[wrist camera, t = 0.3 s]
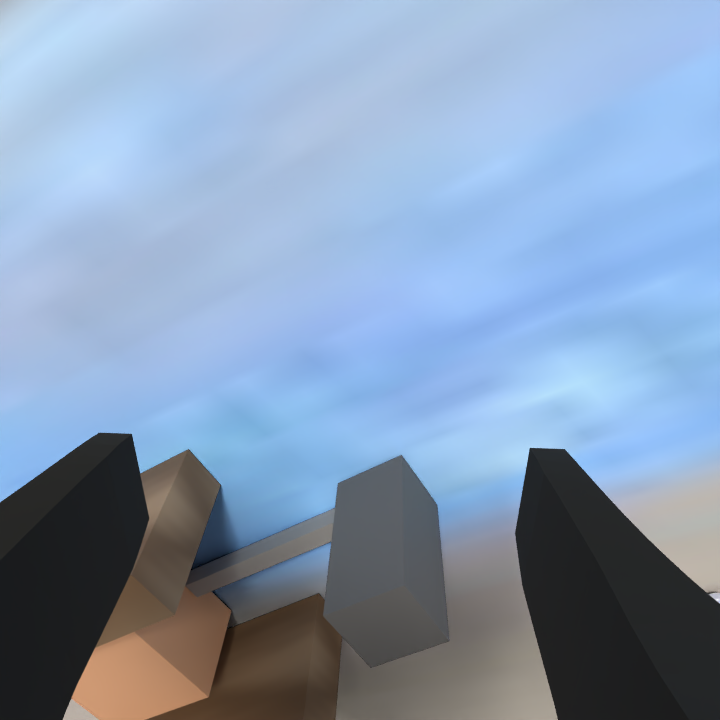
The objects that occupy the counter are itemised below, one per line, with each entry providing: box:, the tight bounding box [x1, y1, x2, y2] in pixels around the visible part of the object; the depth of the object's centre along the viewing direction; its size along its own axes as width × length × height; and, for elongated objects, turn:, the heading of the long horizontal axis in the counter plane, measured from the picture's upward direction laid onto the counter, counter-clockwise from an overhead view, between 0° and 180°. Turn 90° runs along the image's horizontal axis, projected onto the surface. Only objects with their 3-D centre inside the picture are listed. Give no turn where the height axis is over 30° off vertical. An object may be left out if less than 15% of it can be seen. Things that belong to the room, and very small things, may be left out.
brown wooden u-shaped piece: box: [95, 449, 342, 720], centre depth 25 cm, size 11×11×6 cm
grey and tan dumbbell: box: [72, 455, 449, 720], centre depth 24 cm, size 5×16×6 cm, turn 121°
